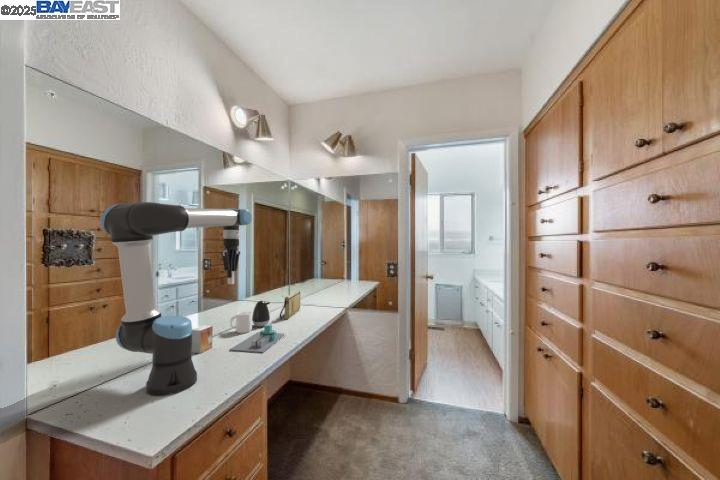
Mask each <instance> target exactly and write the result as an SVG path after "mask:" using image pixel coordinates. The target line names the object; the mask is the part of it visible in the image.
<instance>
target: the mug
mask: <svg viewBox="0 0 720 480" xmlns="http://www.w3.org/2000/svg"><path fill="white" fill-rule="evenodd" d="M252 316H253V312H252V311H241V312H240V311H239V312H237V313H236V315H233V316H232V317H230V321H229V322H230V326H231V327H232V328H233V329H235V330H236V331H235V332H236V333H238V334H247V333H250V332H251V331H252V329H253V321H252ZM234 320H235V325H234V322H233V321H234Z"/></svg>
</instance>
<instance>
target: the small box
mask: <svg viewBox="0 0 720 480" xmlns="http://www.w3.org/2000/svg"><path fill="white" fill-rule="evenodd" d="M212 348H213V325H204V324H203V325H200V326H198V327H196V328H192V354H202V353H204V352H206V351H207V350H210V349H212Z"/></svg>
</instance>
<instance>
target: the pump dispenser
mask: <svg viewBox="0 0 720 480" xmlns="http://www.w3.org/2000/svg"><path fill="white" fill-rule="evenodd" d="M268 305H270V301H268V302H266V301H264V300H259V301H258V302H256V304H255V306H254V308H253V310H252V311H253V312H252V325H254V326H255V327H258V328H262V327H264V325H266V324H269V322H270V319H271V315H270V310H269V307H268Z"/></svg>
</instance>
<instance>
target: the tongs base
mask: <svg viewBox="0 0 720 480" xmlns="http://www.w3.org/2000/svg"><path fill="white" fill-rule="evenodd" d="M272 331H276V330H275V329H272ZM271 340H273V334H268V335H266V336H265V337H263V338H262V339H260V340H259V341H257V348H262V347H263V346H265V345H266V344H267V343H269V342H270V341H271Z"/></svg>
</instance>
